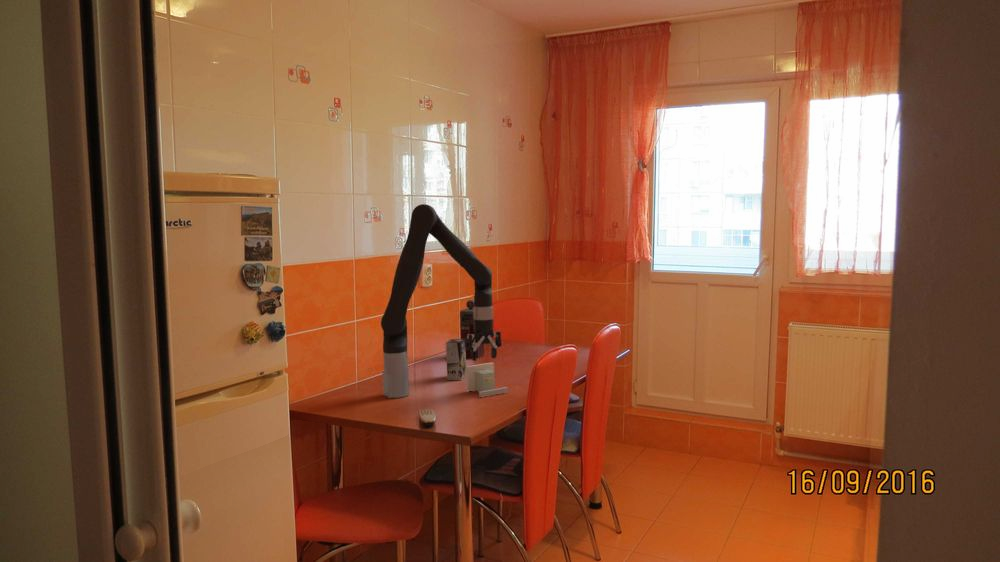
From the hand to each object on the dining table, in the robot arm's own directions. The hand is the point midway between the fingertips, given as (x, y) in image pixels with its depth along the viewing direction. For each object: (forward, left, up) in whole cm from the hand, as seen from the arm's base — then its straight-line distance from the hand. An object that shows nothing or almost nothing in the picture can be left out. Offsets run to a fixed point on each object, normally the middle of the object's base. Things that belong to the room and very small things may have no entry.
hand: (484, 359), depth 270 cm
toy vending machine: (+28, +63, -13) cm, 71 cm away
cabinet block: (0, 0, -13) cm, 13 cm away
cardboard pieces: (0, -1, -13) cm, 13 cm away
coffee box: (+2, +28, -13) cm, 31 cm away
